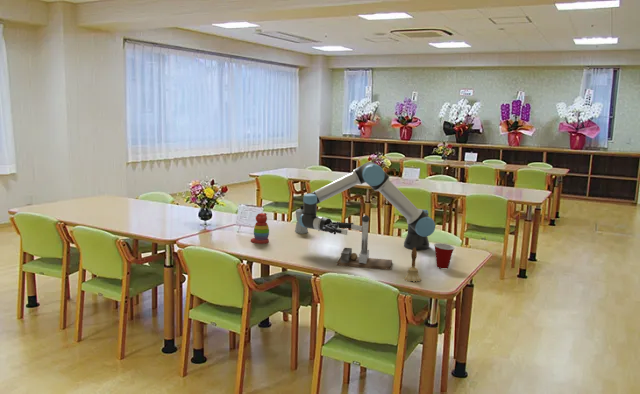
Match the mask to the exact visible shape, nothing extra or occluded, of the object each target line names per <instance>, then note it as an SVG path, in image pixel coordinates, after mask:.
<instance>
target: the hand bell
mask: <svg viewBox="0 0 640 394" xmlns="http://www.w3.org/2000/svg"><path fill="white" fill-rule="evenodd" d="M417 254H418V253H417V250H416V248H413V249H411V267H409V268H408V270H407V274H406V275H405V277H404V278H403V280H404V279H405V281H406V280H407V281H406V282H409V281H413V282H412V283H418V282H417V281H419V282H421V281H422V278H421V277H420V275H419V270H418V268H417V267H416V259H417V256H418V255H417ZM420 280H421V281H420ZM415 281H416V282H415Z"/></svg>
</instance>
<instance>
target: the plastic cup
mask: <svg viewBox="0 0 640 394" xmlns="http://www.w3.org/2000/svg"><path fill="white" fill-rule="evenodd" d="M433 246H434V251H435V253H434V254H435V261H436V268H438V267H439V268H438V269H441V268H447V269H449V266H450V262H451V258H452V254H453V251H454V250H455V248H456V247H455V246H453V245H451V244H447V243H443V242H442V243H441V242H438V243H434V244H433Z"/></svg>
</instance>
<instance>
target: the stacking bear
mask: <svg viewBox="0 0 640 394" xmlns="http://www.w3.org/2000/svg"><path fill="white" fill-rule="evenodd" d="M255 220H256V222H255V224H254V227H253V236H254V237H252V238H250V242H251V243H254V244H260V245H263V244H268V243H270V241H269V235H270V227H269V224H268V222H267V221H268V216H267V213H265V212H264V213H263V212H262V213H258V214H256V216H255Z"/></svg>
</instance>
